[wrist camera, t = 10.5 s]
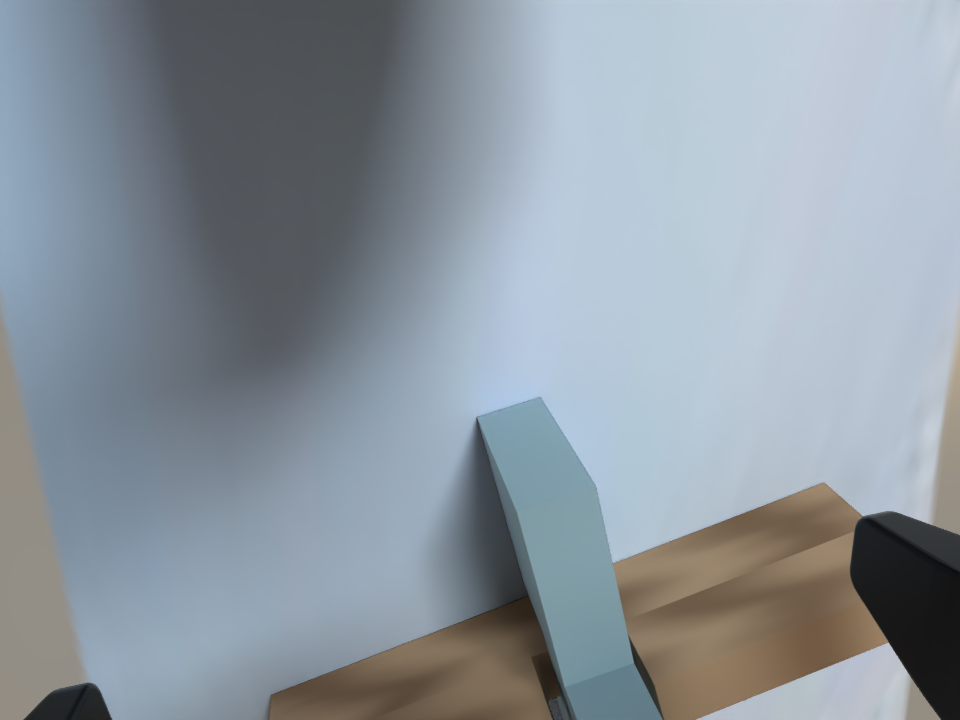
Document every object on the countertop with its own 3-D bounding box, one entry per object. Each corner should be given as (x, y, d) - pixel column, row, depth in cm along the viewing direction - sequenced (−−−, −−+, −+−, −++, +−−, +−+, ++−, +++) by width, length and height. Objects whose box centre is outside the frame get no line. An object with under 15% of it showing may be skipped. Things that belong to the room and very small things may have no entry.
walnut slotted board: (294, 734, 26) (289, 881, 21) (271, 695, 25) (260, 839, 21) (829, 526, 27) (932, 624, 23) (824, 482, 26) (929, 575, 22)
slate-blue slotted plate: (624, 749, 29) (724, 981, 22) (576, 767, 29) (660, 1005, 22) (540, 397, 23) (644, 564, 15) (476, 416, 23) (551, 595, 15)
